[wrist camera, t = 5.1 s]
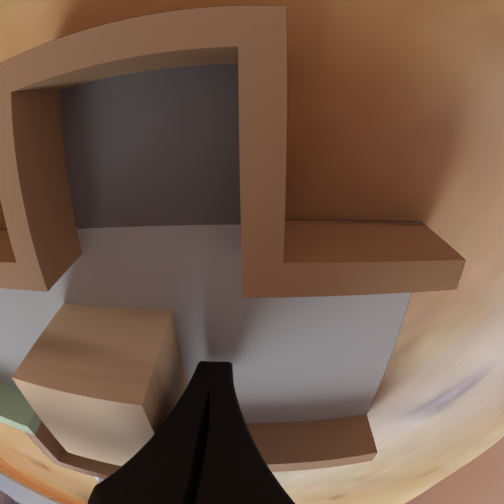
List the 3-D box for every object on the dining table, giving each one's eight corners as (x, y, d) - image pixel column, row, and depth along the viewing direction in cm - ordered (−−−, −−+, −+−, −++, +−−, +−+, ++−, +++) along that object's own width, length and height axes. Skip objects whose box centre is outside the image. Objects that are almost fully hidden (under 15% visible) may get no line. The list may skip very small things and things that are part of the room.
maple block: (189, 393, 14) (175, 474, 10) (96, 382, 14) (67, 452, 10) (172, 310, 11) (142, 405, 7) (63, 303, 11) (11, 377, 7)
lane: (344, 452, 18) (351, 488, 15) (9, 415, 18) (-3, 440, 15) (435, 60, 8) (490, 54, 5) (-99, 145, 8) (-132, 160, 5)
